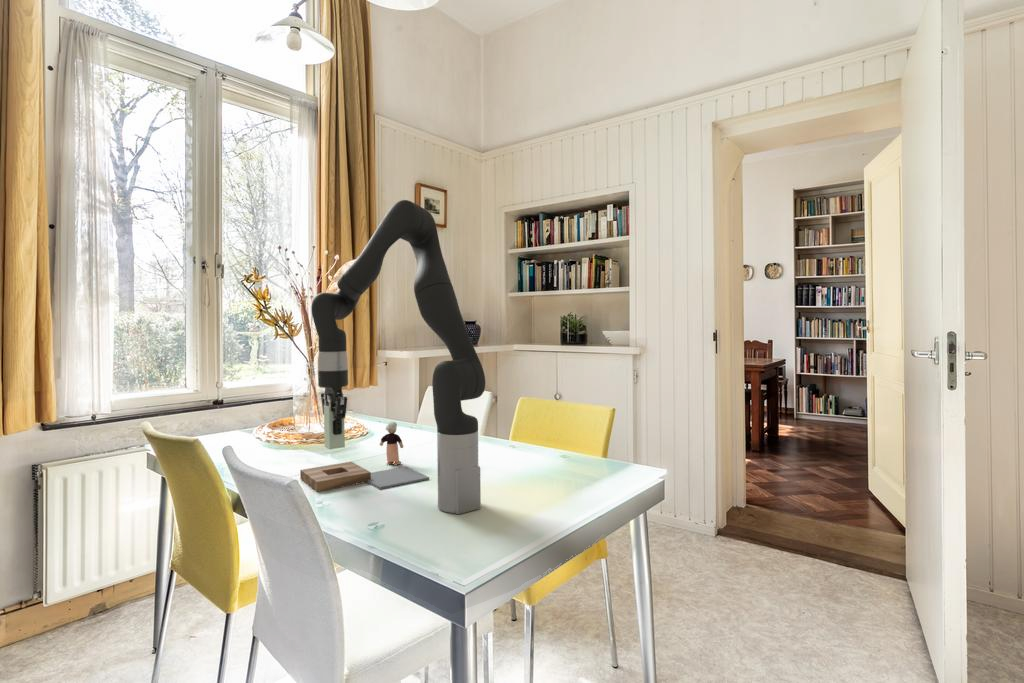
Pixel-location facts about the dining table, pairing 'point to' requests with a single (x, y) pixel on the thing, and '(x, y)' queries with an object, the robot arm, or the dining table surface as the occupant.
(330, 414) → the sage peg
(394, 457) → the grandmother figurine
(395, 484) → the slate mat
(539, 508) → the dining table surface
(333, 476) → the walnut pocket block
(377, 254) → the robot arm
